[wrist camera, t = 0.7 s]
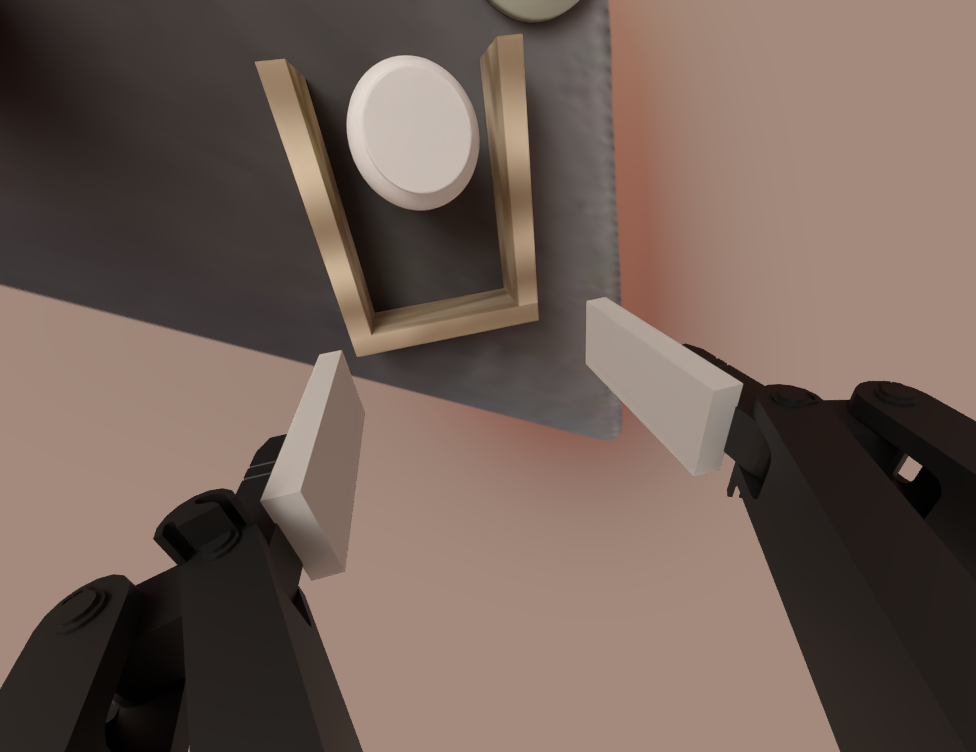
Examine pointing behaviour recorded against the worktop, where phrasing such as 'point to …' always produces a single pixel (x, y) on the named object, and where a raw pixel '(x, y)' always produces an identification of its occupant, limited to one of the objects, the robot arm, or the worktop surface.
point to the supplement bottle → (413, 132)
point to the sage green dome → (533, 9)
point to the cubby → (333, 232)
